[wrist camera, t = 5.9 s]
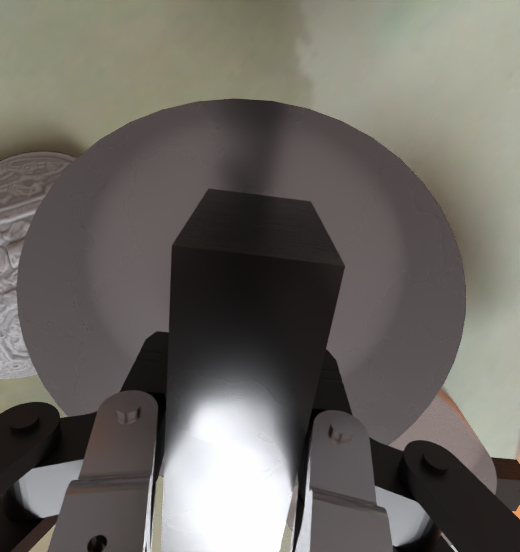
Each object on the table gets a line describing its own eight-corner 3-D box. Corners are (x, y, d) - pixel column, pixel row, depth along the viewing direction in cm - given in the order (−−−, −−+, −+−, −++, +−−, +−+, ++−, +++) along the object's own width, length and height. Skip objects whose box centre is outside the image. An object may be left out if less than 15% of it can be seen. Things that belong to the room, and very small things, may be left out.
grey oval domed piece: (190, 230, 30) (159, 257, 24) (43, 405, 39) (-7, 458, 33) (24, 86, 28) (-58, 76, 22) (-94, 308, 36) (-177, 346, 30)
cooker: (251, 303, 33) (246, 400, 22) (477, 329, 34) (581, 433, 23) (235, 426, 39) (225, 553, 28) (430, 445, 40) (496, 574, 29)
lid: (17, 66, 11) (-264, 20, 5) (508, 134, 12) (759, 163, 6) (59, 442, 17) (-49, 623, 11) (386, 472, 18) (449, 657, 12)
